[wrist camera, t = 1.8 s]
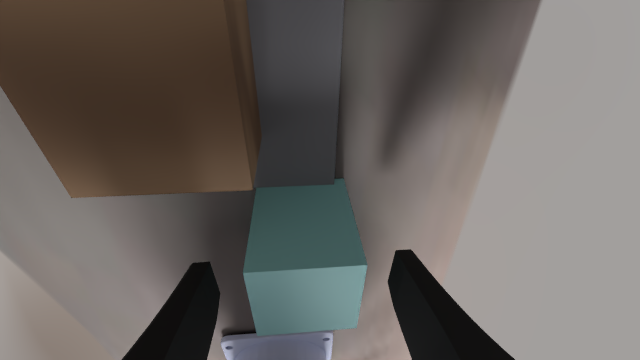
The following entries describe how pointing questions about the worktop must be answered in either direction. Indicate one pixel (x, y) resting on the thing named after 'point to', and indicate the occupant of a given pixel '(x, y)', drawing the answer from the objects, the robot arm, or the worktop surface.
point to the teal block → (304, 260)
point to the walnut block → (135, 92)
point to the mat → (296, 89)
